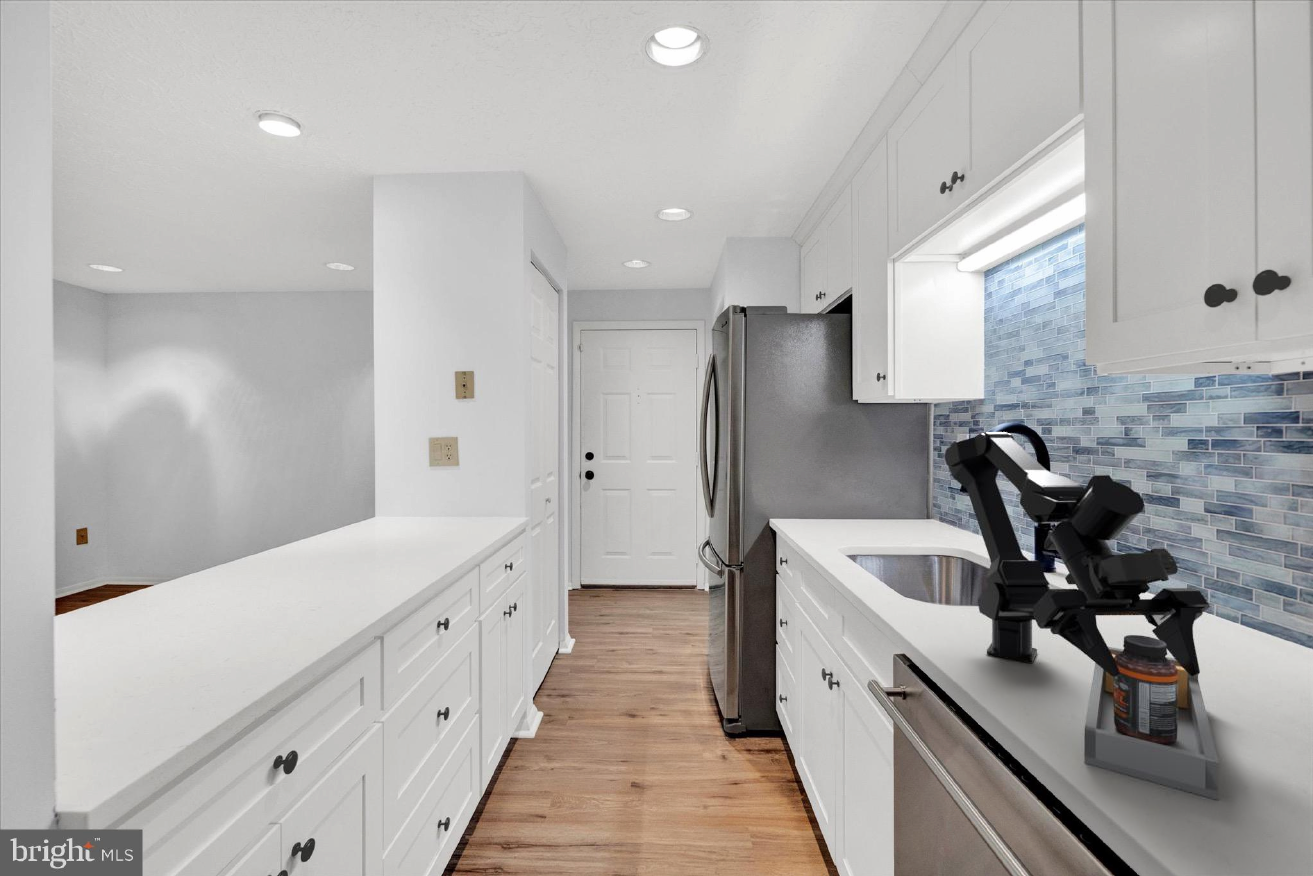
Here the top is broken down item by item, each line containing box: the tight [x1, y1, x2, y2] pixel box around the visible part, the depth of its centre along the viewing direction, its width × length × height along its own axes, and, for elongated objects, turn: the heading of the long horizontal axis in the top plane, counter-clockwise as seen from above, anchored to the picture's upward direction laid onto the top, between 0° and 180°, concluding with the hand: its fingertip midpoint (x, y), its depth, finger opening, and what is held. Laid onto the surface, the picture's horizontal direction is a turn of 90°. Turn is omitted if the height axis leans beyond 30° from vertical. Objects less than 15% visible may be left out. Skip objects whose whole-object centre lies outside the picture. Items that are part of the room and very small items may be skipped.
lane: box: [1083, 646, 1220, 801], centre depth 74 cm, size 26×11×6 cm, turn 141°
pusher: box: [1106, 654, 1187, 708], centre depth 81 cm, size 4×8×5 cm, turn 51°
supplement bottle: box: [1114, 634, 1178, 744], centre depth 71 cm, size 6×6×11 cm
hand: (1156, 675), depth 70 cm, fingers open, 9 cm apart
